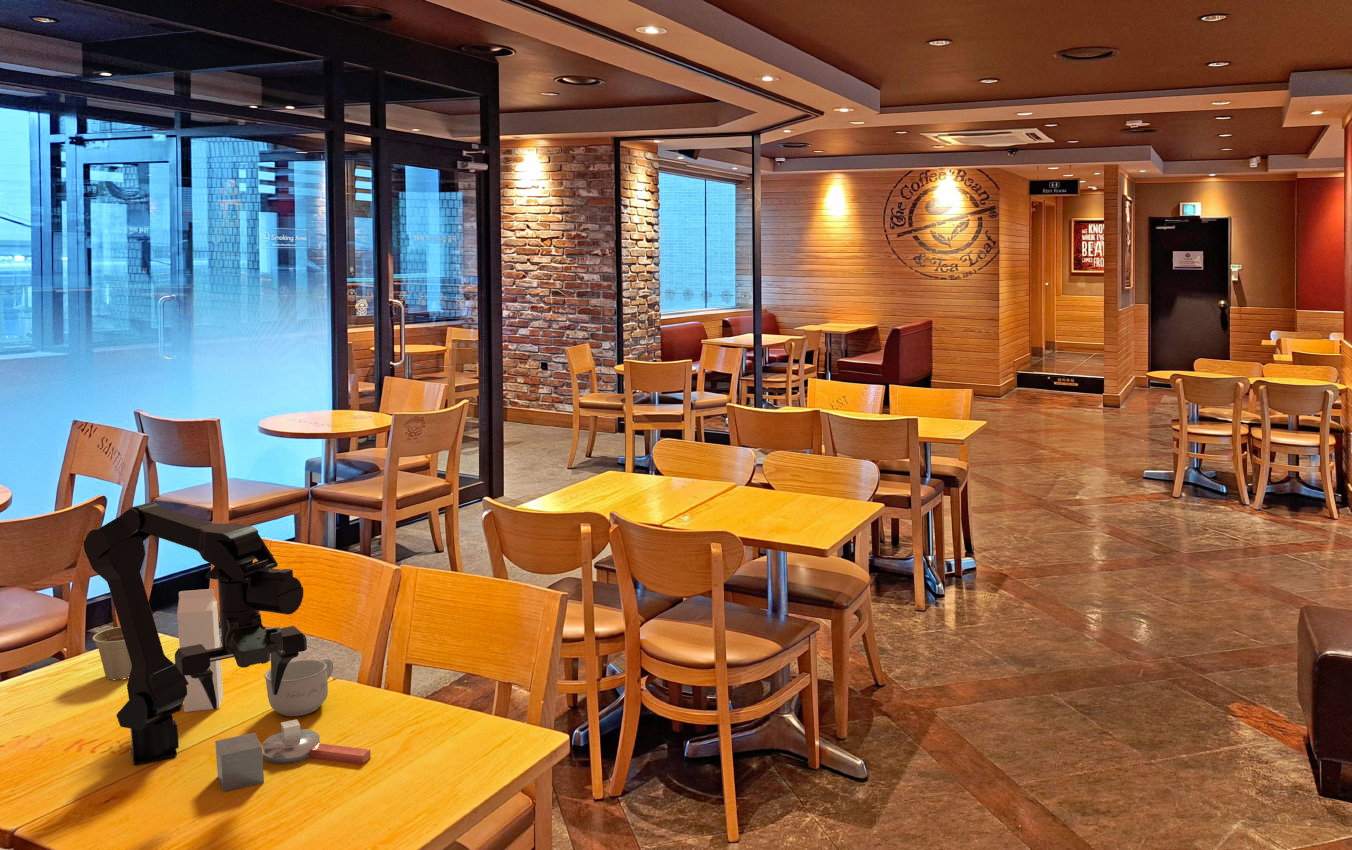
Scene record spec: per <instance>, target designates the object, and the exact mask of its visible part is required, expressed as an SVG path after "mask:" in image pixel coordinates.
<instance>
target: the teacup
mask: <svg viewBox="0 0 1352 850" xmlns="http://www.w3.org/2000/svg"><path fill="white" fill-rule="evenodd" d="M333 672H334V663H333V661H332V659H331V658H329V657H321V658H319V659H318V660H317V659H301V660H291V661H290V662H289V663H288V665H287V667H286V669H285V671H284V674H283V677H282V681H281V684H280V687H279V690H278V693H277V695H274V694H273V692H272V685H271V668H269V669H268V670H267V671H265V673H264V679H265V683H266V684H265V685H266V692H267V699H268V703H269V706H270V707H271V708H272V709H273V710H274V711H276V712H277V713H279V714H281V715H282V716H283V717H284V716H285V717H301V716H305V715H308V714H311V713H313V712H315V711H316V710H318V709H319V708H320V707H321V705H322V704H323V703H324V702H325V701H326V699H327V697H328V695H329V693H328V692H329V685H328V684H329V682H328V681H329V680H330V677H331V676H332V673H333Z"/></svg>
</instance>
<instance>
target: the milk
mask: <svg viewBox="0 0 1352 850" xmlns="http://www.w3.org/2000/svg"><path fill="white" fill-rule="evenodd" d="M177 604H178V606H177V611H176V612H177V613H176V615H177V616H176V617H177V618H176V619H177V628H178V630H177V632H178V642H179V648H183V647H188V646H193V645H198V644H202V645H203V646H204V648H205V649H206V650H209V649H214V648H219V647H221V639H220V629H219V628H220V627H219V611H218V601H217V599H216V597H215V591H214V589H212V588H207V589H196V590H195V589H194V590H193V589H192V590H181V591H178V603H177ZM209 668H210V670H211V671H212V672H213V684H214V689H215V695H216V700H217V709H220V706H221V703H222V702H223V697H224V688H223V687H224V685H223V673H222V672H223V671H222V660H217V661H213V662H210V667H209ZM185 678H186V680H187V682H188V683H189V684H188V685H186V686H187V696H185V699H184V701H183V711H184V713H189V712H190V713H191V712H198V711H209V710H214V709H213V707H212V705H211V703H210V701H209V699H208V696H207V694H206V692H205V690H204V688H203V686H202V684H201V682H200V680H199V679H198V678H196V679H194V678H191V676H190V675H188V676H186V675H185ZM217 709H216V710H217Z"/></svg>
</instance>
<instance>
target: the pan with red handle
mask: <svg viewBox="0 0 1352 850" xmlns="http://www.w3.org/2000/svg"><path fill="white" fill-rule="evenodd" d="M320 741H321V739H320V734H319V733H318V732H317V731H315V730H311V729H304V728H301V724H300V722H299V720H298V719H293V720H291V719H290V720H287V721H282V722H280V732H278V733H275V734H272V735H270V736H268V737H267V738H266V739H265V740H264V741H263V743H262V756H263V760H265V762H268V763H270V764H274V765H291V764H297V763H302V762H305V761H307V760H310V759H314V760H315V759H316V760H323V761H324V760H325V761H330V762H331V761H332V762H340V763H347V764H349V763H350V764H357V765H364V764H366V761H367V762H368V761H369V760H370V759H372V757H371V755H372V754H371V749H370V748H369V749H368V748H363V747H362V748H361V747H353V746H346V745H345V746H344V745H336V744H328V743H327V744H326V743H321V742H320ZM301 761H302V762H301Z"/></svg>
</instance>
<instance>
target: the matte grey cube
mask: <svg viewBox="0 0 1352 850" xmlns="http://www.w3.org/2000/svg"><path fill="white" fill-rule="evenodd" d="M214 743H215V754H216V755H215V756H216V770H217V771H216V772H217V778H218V781H219V785H220V786H221V790H222V793H225V792H230V791H234V790H237V789H242V788H243V789H244V788H247V787H250V786H251V787H252V786H255V785H261V784H264V783H265V776H264V757H263V745H262V744H261V742H260V740H259V737H258V736H257V733H256V732H251V733H247V734H241V735H237V736H233V737H232V736H231V737H227V738H224V739H223V738H221V739H218V740H215V742H214Z"/></svg>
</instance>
